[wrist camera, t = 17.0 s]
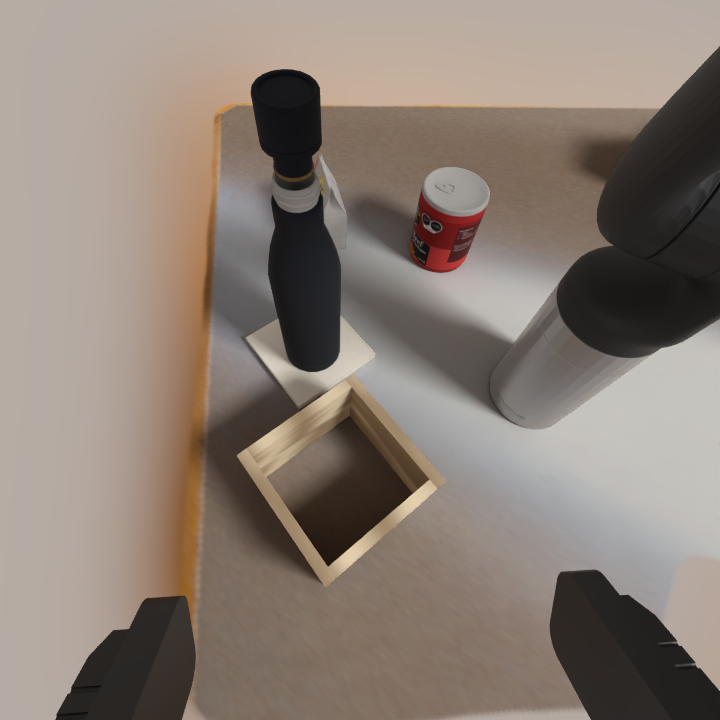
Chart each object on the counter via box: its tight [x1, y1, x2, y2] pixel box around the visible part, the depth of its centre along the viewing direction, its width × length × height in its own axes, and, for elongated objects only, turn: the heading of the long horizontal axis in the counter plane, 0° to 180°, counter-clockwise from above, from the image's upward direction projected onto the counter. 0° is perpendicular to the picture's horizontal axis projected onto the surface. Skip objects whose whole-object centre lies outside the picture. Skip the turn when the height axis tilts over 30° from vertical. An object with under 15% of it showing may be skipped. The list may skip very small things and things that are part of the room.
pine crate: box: [236, 374, 446, 587], centre depth 41 cm, size 13×13×8 cm
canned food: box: [410, 167, 490, 273], centre depth 55 cm, size 8×8×11 cm
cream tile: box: [246, 315, 375, 410], centre depth 51 cm, size 11×11×1 cm
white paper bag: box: [314, 154, 347, 249], centre depth 56 cm, size 4×7×10 cm, turn 15°
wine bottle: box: [251, 69, 341, 372], centre depth 37 cm, size 6×6×30 cm
